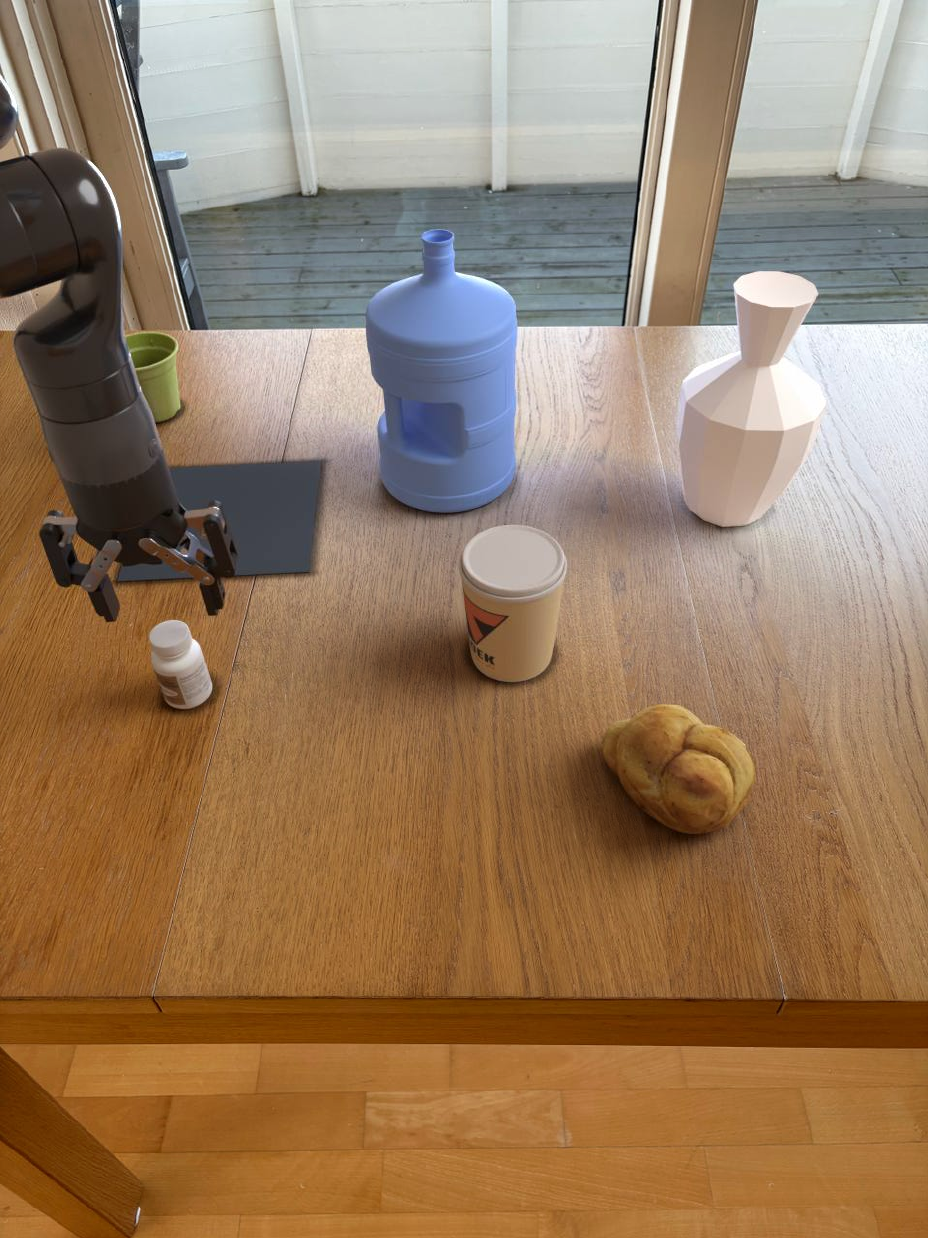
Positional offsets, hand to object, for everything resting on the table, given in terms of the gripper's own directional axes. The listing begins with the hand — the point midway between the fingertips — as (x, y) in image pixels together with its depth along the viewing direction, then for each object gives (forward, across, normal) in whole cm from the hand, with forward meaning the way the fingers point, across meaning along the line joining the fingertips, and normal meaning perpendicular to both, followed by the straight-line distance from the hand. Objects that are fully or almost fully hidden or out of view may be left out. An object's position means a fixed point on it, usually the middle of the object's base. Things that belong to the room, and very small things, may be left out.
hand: (164, 612), depth 80 cm
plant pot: (+10, +12, -49) cm, 51 cm away
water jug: (+10, -25, -32) cm, 42 cm away
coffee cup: (+11, -30, -3) cm, 32 cm away
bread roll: (+11, -42, +13) cm, 45 cm away
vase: (+11, -56, -24) cm, 62 cm away
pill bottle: (+10, 0, 0) cm, 10 cm away
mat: (+10, 0, -26) cm, 28 cm away
